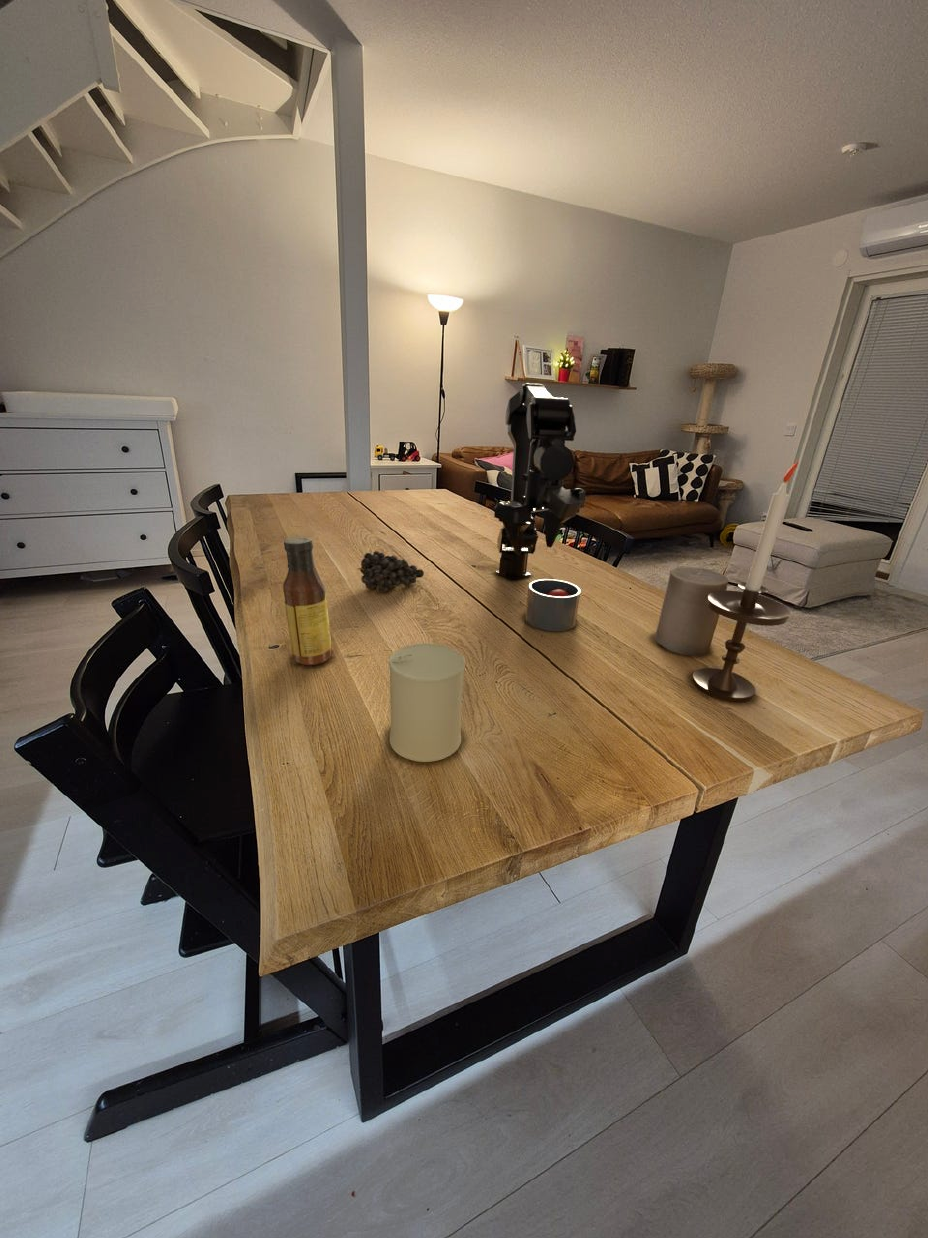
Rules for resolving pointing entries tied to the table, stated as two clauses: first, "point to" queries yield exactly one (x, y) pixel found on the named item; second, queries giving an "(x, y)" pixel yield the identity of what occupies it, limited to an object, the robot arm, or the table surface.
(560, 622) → the cup
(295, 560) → the sauce bottle
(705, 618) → the pillar candle
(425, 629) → the table surface
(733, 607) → the candlestick
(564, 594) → the apple
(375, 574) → the fruit
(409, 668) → the can
